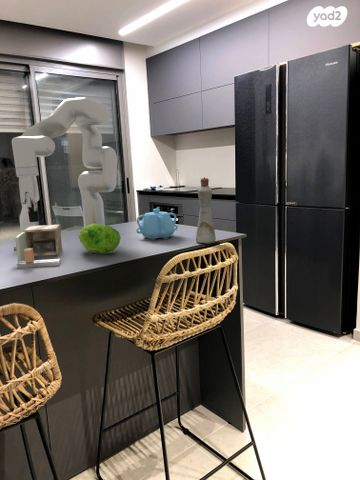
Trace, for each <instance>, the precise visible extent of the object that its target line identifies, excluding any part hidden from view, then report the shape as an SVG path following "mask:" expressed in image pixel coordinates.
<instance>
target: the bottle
mask: <svg viewBox="0 0 360 480" xmlns="http://www.w3.org/2000/svg"><path fill="white" fill-rule="evenodd" d="M209 181H210V180H209V178H208V177H207V178H206V177H205V176H204V177H202V178H200V187H199V189H198V190H197V194H198V195H197V196H198V201H199V206H200V208H199V213H198V222H197V228H196V233H195V235H196V236H195V242H196V243H201V244H206V245H207V244H215V242H216V240H217V239H216V233H215V232H216V230H215V225H214V220H213V215H212V213H213V212H212V208H211V204H212V197H213V196H212V195H213V189H212V188H211V187H210V186H209Z"/></svg>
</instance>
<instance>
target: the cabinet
mask: <svg viewBox="0 0 360 480" xmlns="http://www.w3.org/2000/svg"><path fill="white" fill-rule="evenodd" d="M24 231H25V232H26V241H27V249H29V248H33V254H34V257H38V256H39V257H40V256H42V257H43V256H55V255H56V254H57V255H60V253H61V252H62V250H63V244H62V233H61V224H47V225H46V224H43V225H38V226H29V227H28V228H27V229H25V230H24Z"/></svg>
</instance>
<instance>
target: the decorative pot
mask: <svg viewBox="0 0 360 480" xmlns="http://www.w3.org/2000/svg"><path fill="white" fill-rule="evenodd" d="M171 216H173V218H172V217H171ZM140 218H142V219H141V222H140ZM176 222H177V215H176V213H173V212H167V211H161V209H160V208H153V209H152V211H150V212H145V213H144V214H141V215H138V216H137V218H136V223H137V226H138V227H137V228H136V233H137V234H139V235H140V234H141V235H142V236H143V237H145V238H148V239H149V240H151V241H154V240H156V239H157V238H163V239H166V240H167V239H169V238H170V237H172V236H173V235H174V233H175V231H177V230H178V225H177V224H176Z"/></svg>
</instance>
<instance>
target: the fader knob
mask: <svg viewBox="0 0 360 480" xmlns="http://www.w3.org/2000/svg"><path fill="white" fill-rule="evenodd" d="M24 256H25V259H24V261H25V263H29V262H33V261H34V260H35V258H34V257H35V256H34V254H33V248H29V249H25V250H24Z"/></svg>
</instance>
